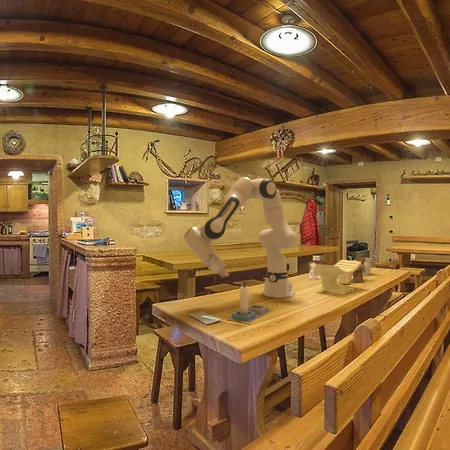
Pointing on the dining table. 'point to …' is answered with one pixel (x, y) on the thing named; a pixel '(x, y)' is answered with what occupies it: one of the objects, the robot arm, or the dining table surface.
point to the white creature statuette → (311, 274)
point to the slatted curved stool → (335, 275)
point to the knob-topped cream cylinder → (244, 299)
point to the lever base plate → (250, 314)
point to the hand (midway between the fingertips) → (225, 276)
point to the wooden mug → (358, 272)
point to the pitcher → (366, 266)
